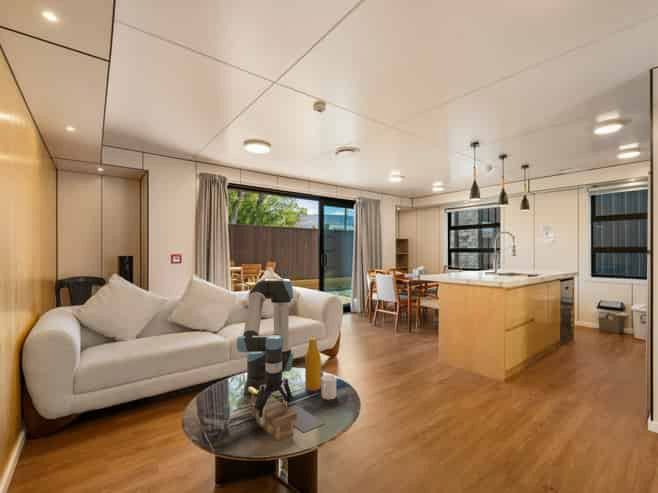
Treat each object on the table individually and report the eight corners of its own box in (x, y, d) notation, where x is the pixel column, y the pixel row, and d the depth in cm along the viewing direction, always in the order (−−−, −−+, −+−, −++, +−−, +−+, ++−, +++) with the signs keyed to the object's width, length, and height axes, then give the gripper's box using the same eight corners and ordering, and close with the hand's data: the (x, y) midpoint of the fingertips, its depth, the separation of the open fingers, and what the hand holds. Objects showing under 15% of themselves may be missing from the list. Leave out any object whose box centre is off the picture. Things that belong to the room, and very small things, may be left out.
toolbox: (248, 416, 156) (248, 393, 156) (263, 410, 161) (263, 388, 161) (277, 441, 135) (277, 414, 135) (293, 434, 140) (293, 408, 140)
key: (248, 390, 164) (248, 385, 164) (251, 389, 165) (251, 384, 165) (258, 397, 155) (258, 392, 155) (261, 396, 157) (261, 390, 157)
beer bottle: (302, 388, 188) (301, 339, 189) (312, 383, 196) (312, 335, 196) (314, 392, 183) (313, 341, 183) (324, 387, 190) (323, 338, 191)
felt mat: (276, 412, 159) (276, 412, 159) (296, 405, 167) (296, 404, 167) (303, 433, 141) (303, 432, 141) (324, 423, 149) (324, 423, 149)
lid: (252, 412, 150) (252, 403, 150) (273, 405, 157) (273, 397, 157) (274, 430, 134) (274, 421, 134) (296, 422, 141) (296, 412, 141)
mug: (329, 404, 168) (329, 384, 168) (315, 401, 172) (315, 381, 172) (338, 394, 179) (338, 376, 179) (325, 392, 183) (325, 374, 183)
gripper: (254, 379, 135) (254, 431, 135) (299, 366, 150) (299, 414, 150) (246, 374, 141) (246, 424, 141) (291, 362, 156) (291, 408, 156)
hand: (273, 419), depth 145 cm, fingers closed on lid, 11 cm apart
